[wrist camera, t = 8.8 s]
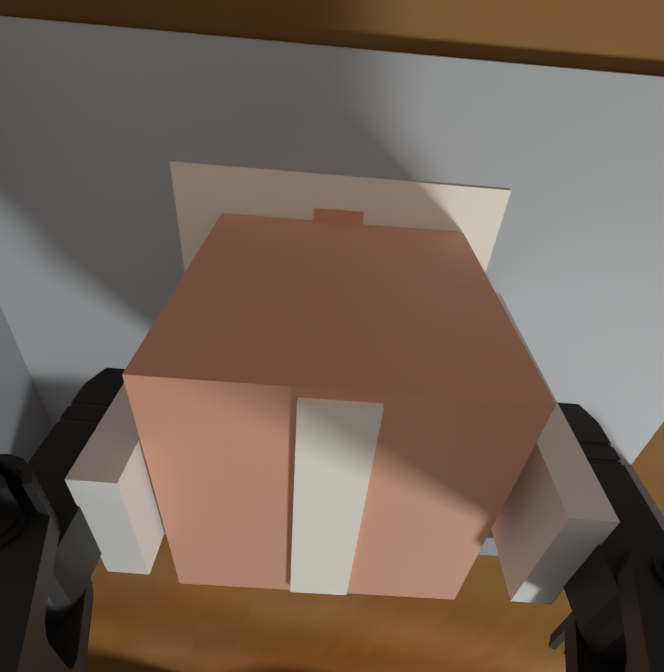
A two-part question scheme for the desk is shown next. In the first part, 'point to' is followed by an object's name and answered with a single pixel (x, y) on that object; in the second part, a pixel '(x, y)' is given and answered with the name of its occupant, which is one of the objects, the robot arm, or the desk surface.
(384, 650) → the desk surface
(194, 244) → the tray
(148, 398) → the cube
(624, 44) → the desk surface
